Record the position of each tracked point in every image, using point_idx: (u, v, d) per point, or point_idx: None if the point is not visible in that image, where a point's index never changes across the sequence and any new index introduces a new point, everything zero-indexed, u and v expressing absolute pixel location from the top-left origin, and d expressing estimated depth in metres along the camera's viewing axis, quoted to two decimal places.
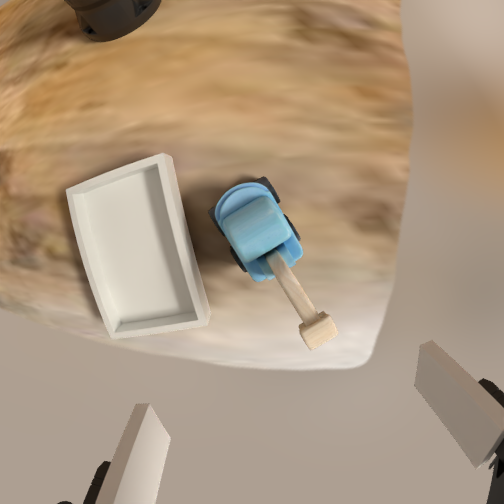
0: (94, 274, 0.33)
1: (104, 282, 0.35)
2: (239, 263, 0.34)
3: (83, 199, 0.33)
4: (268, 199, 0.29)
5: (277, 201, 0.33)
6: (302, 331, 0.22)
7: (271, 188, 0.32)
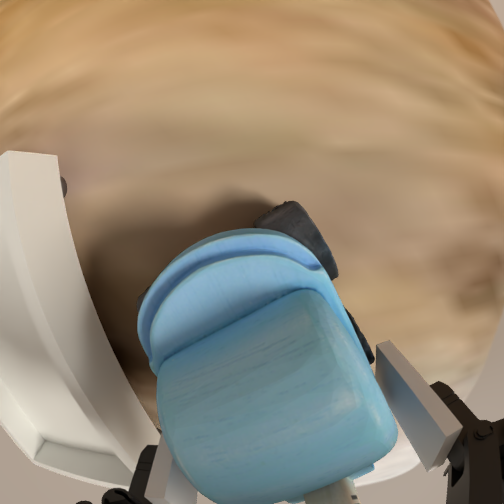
0: None
1: (2, 388, 0.13)
2: None
3: None
4: (330, 327, 0.06)
5: (331, 278, 0.11)
6: None
7: (320, 244, 0.10)
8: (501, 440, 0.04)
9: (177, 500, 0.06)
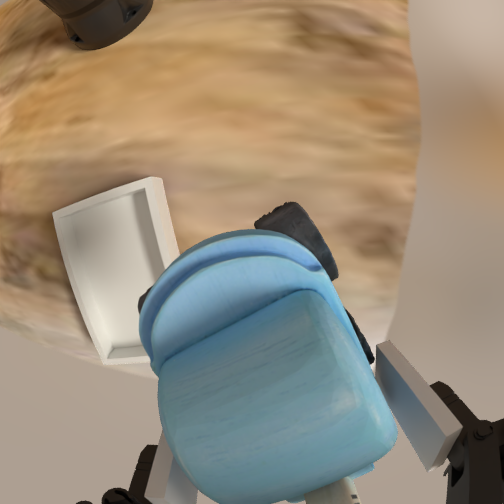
0: (84, 301, 0.31)
1: (95, 308, 0.33)
2: None
3: (71, 221, 0.31)
4: (331, 329, 0.06)
5: (331, 279, 0.11)
6: None
7: (320, 245, 0.10)
8: (501, 440, 0.04)
9: (177, 500, 0.06)
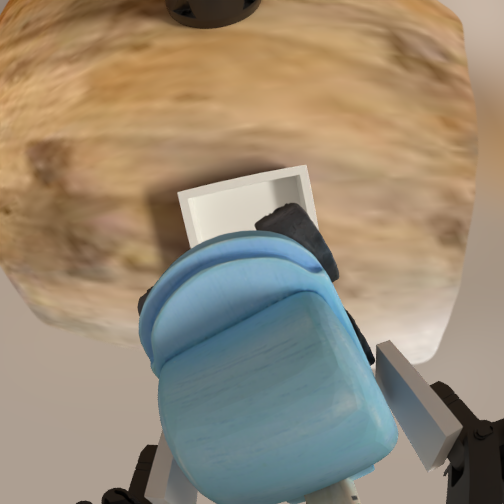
0: None
1: None
2: None
3: (193, 204, 0.33)
4: (332, 330, 0.06)
5: (332, 280, 0.11)
6: None
7: (321, 246, 0.10)
8: (501, 440, 0.04)
9: (177, 500, 0.06)
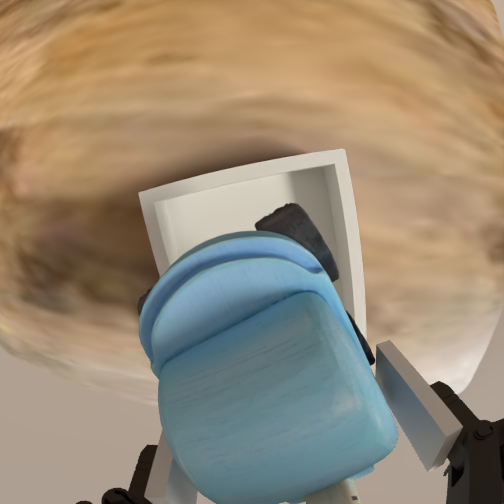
0: None
1: None
2: None
3: (166, 210, 0.21)
4: (332, 330, 0.06)
5: (332, 280, 0.11)
6: None
7: (321, 247, 0.10)
8: (501, 440, 0.04)
9: (177, 500, 0.06)
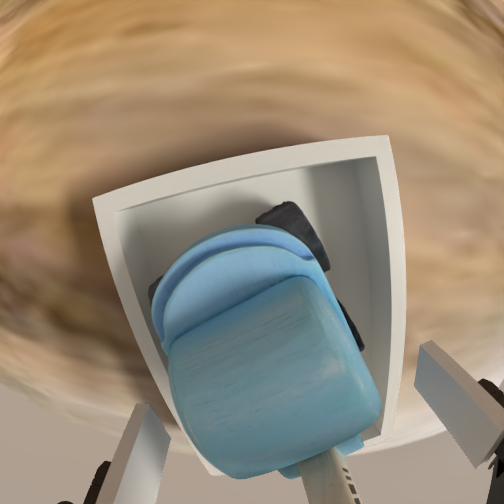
0: None
1: None
2: None
3: (136, 221, 0.15)
4: (320, 306, 0.08)
5: (324, 270, 0.13)
6: None
7: (314, 239, 0.11)
8: None
9: None
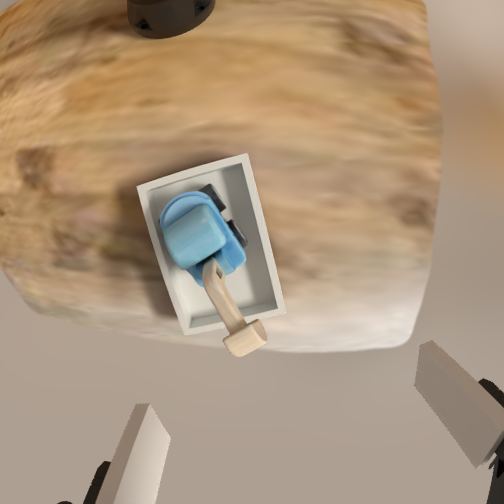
0: (169, 271, 0.36)
1: (176, 279, 0.39)
2: (187, 269, 0.35)
3: (153, 196, 0.36)
4: (204, 208, 0.29)
5: (222, 207, 0.34)
6: (224, 339, 0.23)
7: (214, 195, 0.33)
8: None
9: None
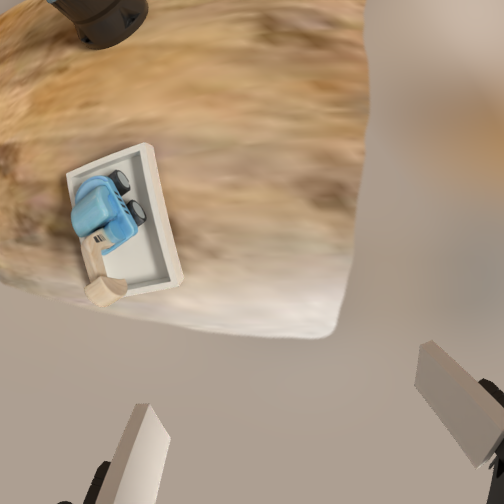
0: None
1: None
2: None
3: (80, 182, 0.39)
4: (98, 187, 0.31)
5: (122, 189, 0.36)
6: None
7: (116, 178, 0.35)
8: None
9: None
